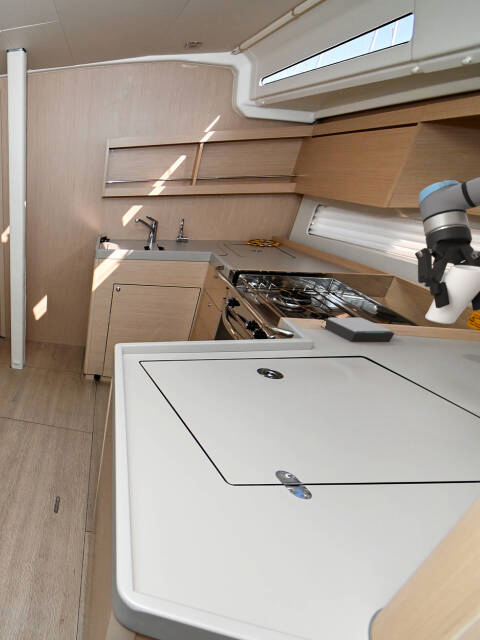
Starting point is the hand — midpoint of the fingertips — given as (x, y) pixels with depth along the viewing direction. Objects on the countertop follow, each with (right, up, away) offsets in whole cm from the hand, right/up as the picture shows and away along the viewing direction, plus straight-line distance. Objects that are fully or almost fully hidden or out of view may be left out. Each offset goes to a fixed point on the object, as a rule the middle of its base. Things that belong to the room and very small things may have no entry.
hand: (461, 307), depth 93 cm
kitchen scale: (+2, -6, +28) cm, 29 cm away
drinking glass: (+1, -3, +6) cm, 7 cm away
